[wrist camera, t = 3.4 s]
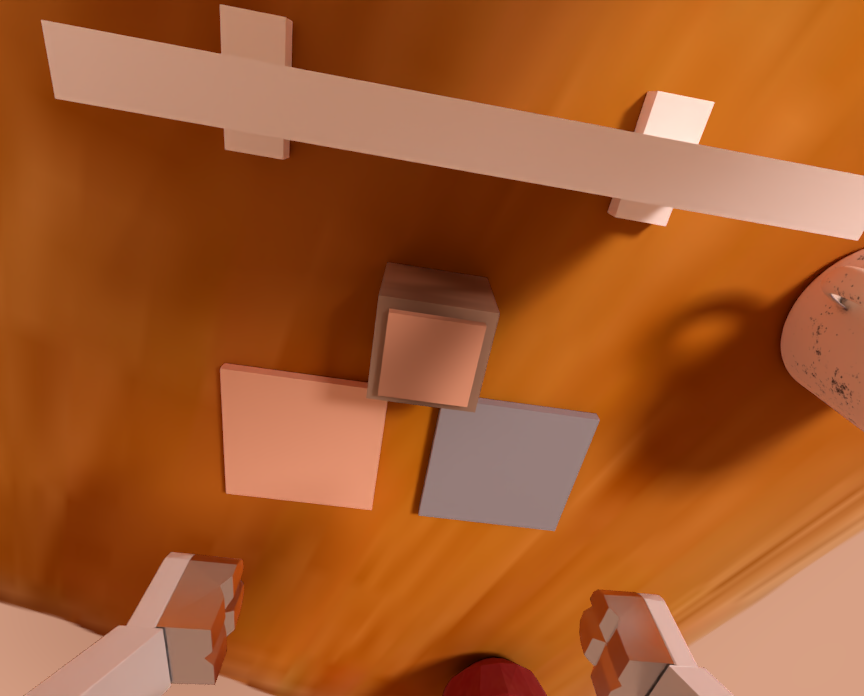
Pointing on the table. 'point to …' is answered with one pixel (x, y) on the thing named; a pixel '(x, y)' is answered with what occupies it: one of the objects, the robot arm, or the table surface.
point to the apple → (494, 680)
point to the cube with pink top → (431, 337)
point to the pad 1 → (300, 436)
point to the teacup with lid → (830, 338)
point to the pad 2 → (505, 463)
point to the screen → (445, 127)
